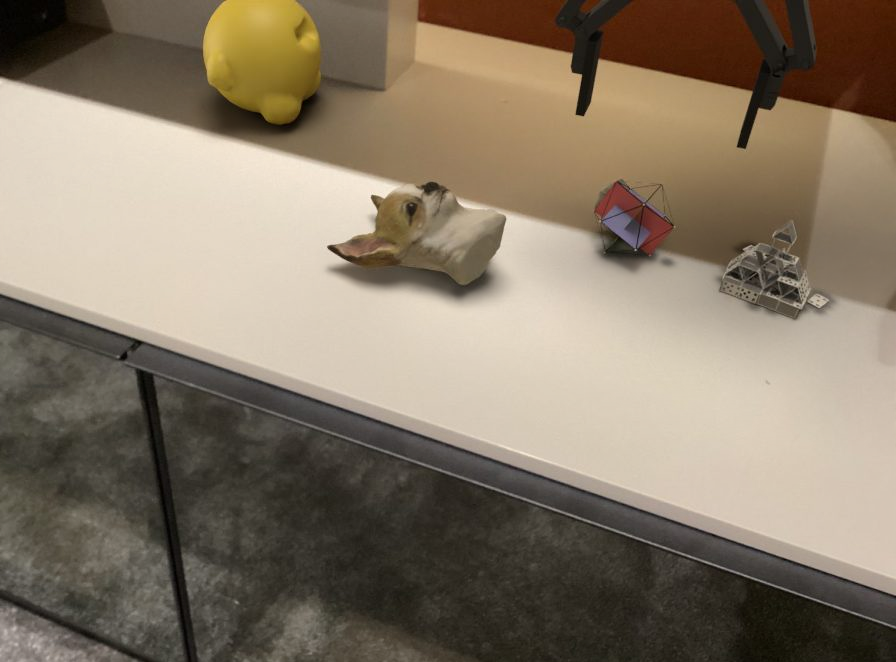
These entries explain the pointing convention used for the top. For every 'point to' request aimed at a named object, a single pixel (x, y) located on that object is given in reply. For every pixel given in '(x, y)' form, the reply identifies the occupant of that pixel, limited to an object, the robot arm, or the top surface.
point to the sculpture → (263, 56)
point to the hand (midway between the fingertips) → (661, 124)
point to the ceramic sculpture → (427, 234)
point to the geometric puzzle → (632, 217)
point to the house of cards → (771, 277)
